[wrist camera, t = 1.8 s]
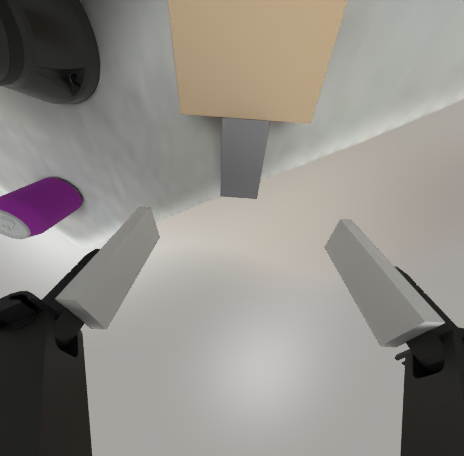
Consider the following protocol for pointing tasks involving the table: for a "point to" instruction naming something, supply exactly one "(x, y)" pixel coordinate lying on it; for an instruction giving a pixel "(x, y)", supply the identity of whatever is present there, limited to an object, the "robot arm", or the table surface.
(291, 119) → the carton lid
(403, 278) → the robot arm
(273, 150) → the table surface
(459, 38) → the table surface
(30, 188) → the beverage can
